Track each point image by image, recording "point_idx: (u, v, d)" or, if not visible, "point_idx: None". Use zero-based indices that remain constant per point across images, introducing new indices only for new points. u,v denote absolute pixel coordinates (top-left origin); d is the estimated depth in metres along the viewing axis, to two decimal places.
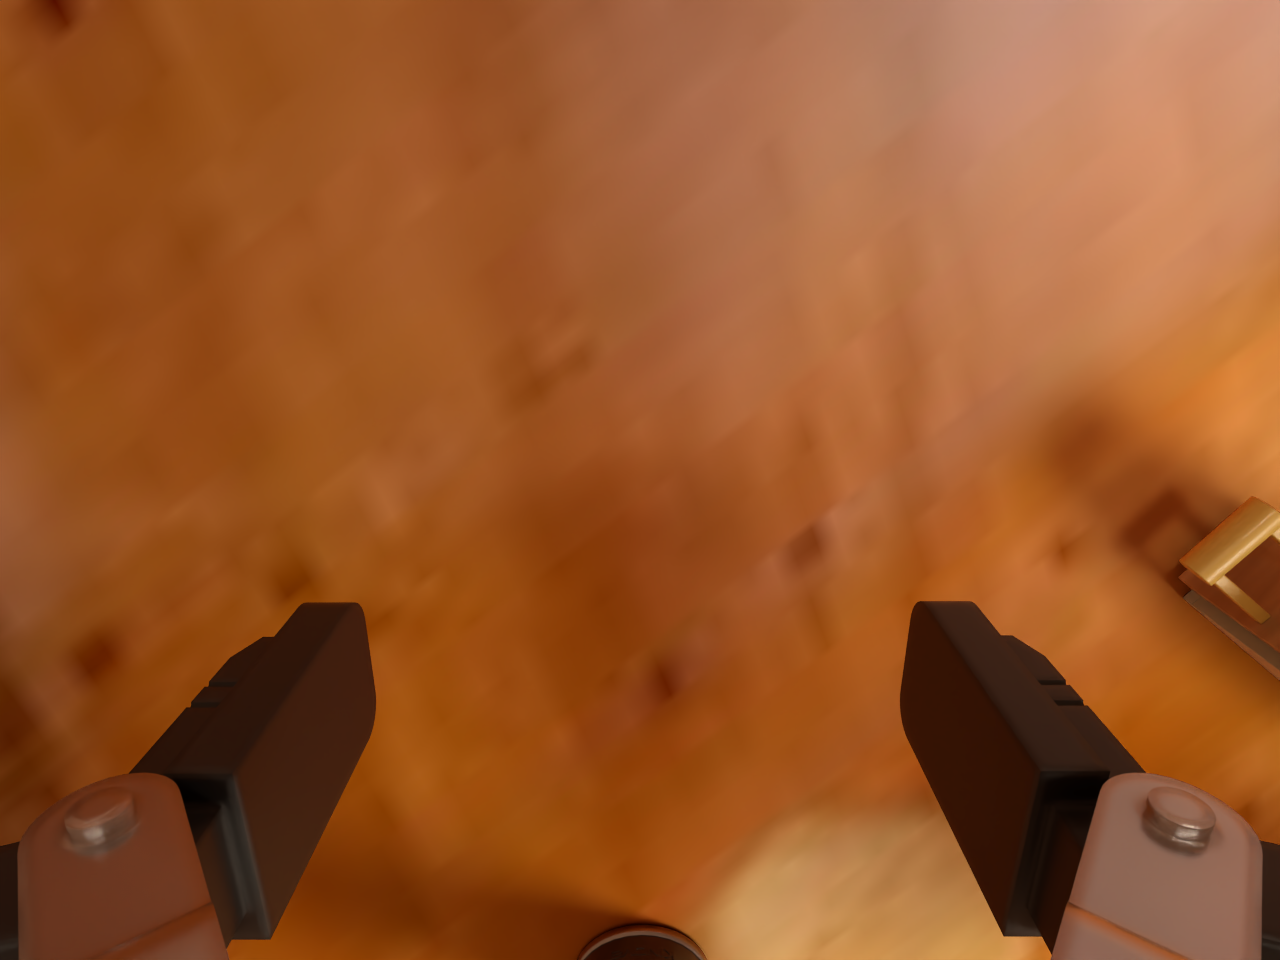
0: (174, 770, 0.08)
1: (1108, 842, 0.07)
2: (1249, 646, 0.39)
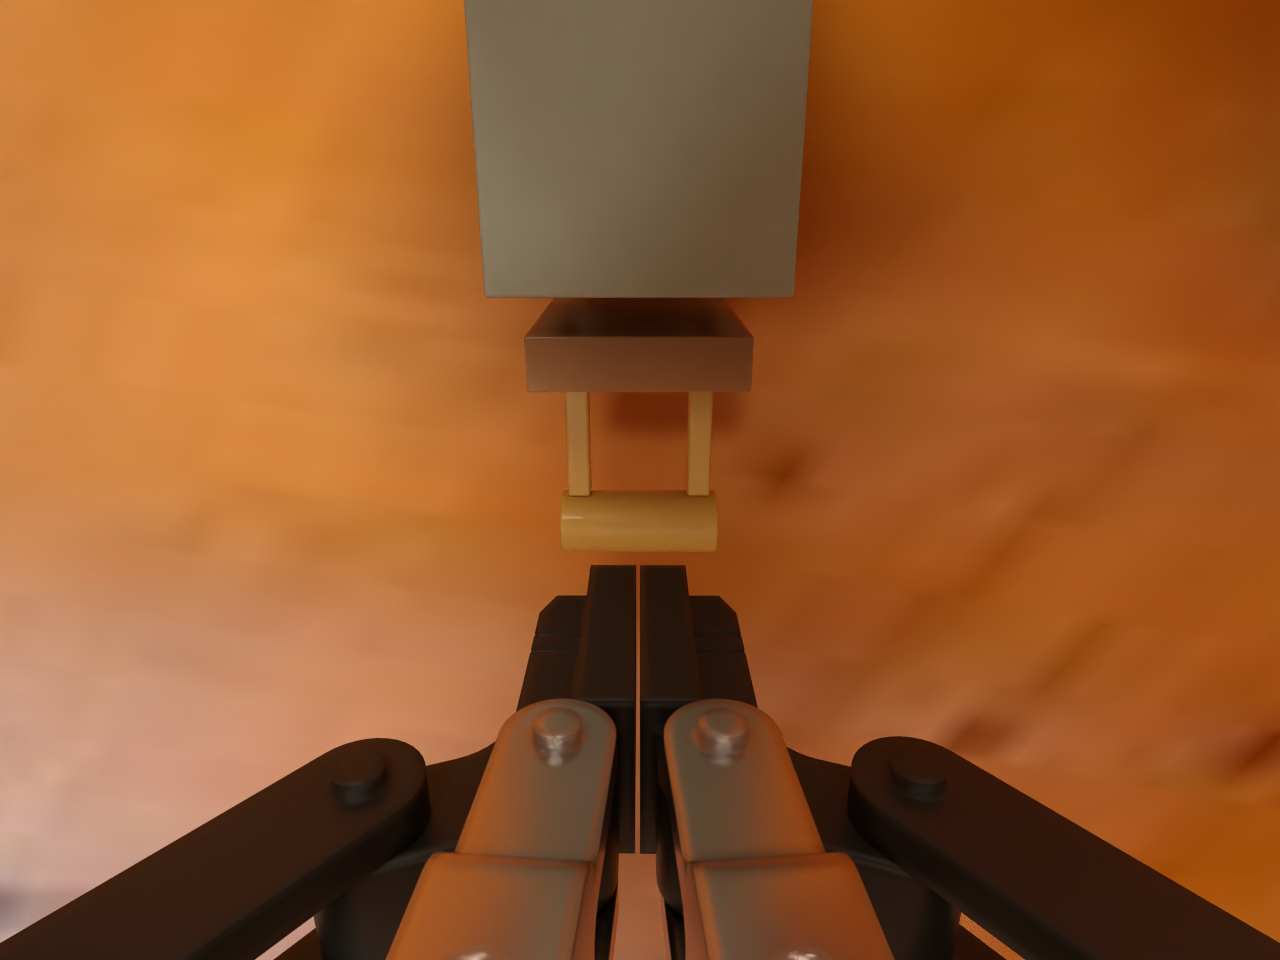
0: (580, 698, 0.09)
1: (687, 782, 0.07)
2: None
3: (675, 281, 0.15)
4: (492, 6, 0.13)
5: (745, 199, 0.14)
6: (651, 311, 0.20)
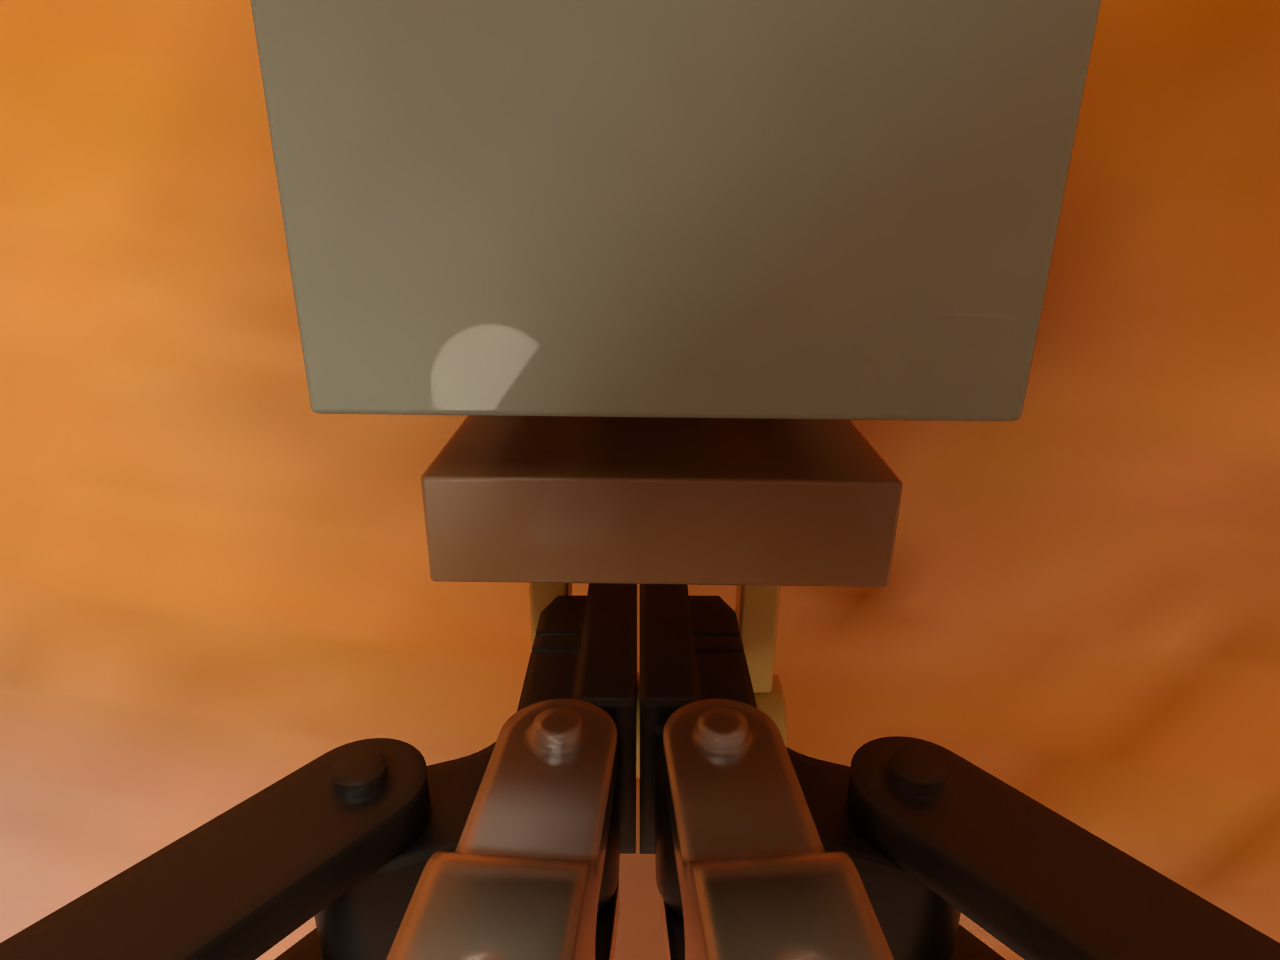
0: (581, 698, 0.09)
1: (687, 782, 0.07)
2: None
3: (750, 384, 0.06)
4: None
5: (931, 194, 0.06)
6: None
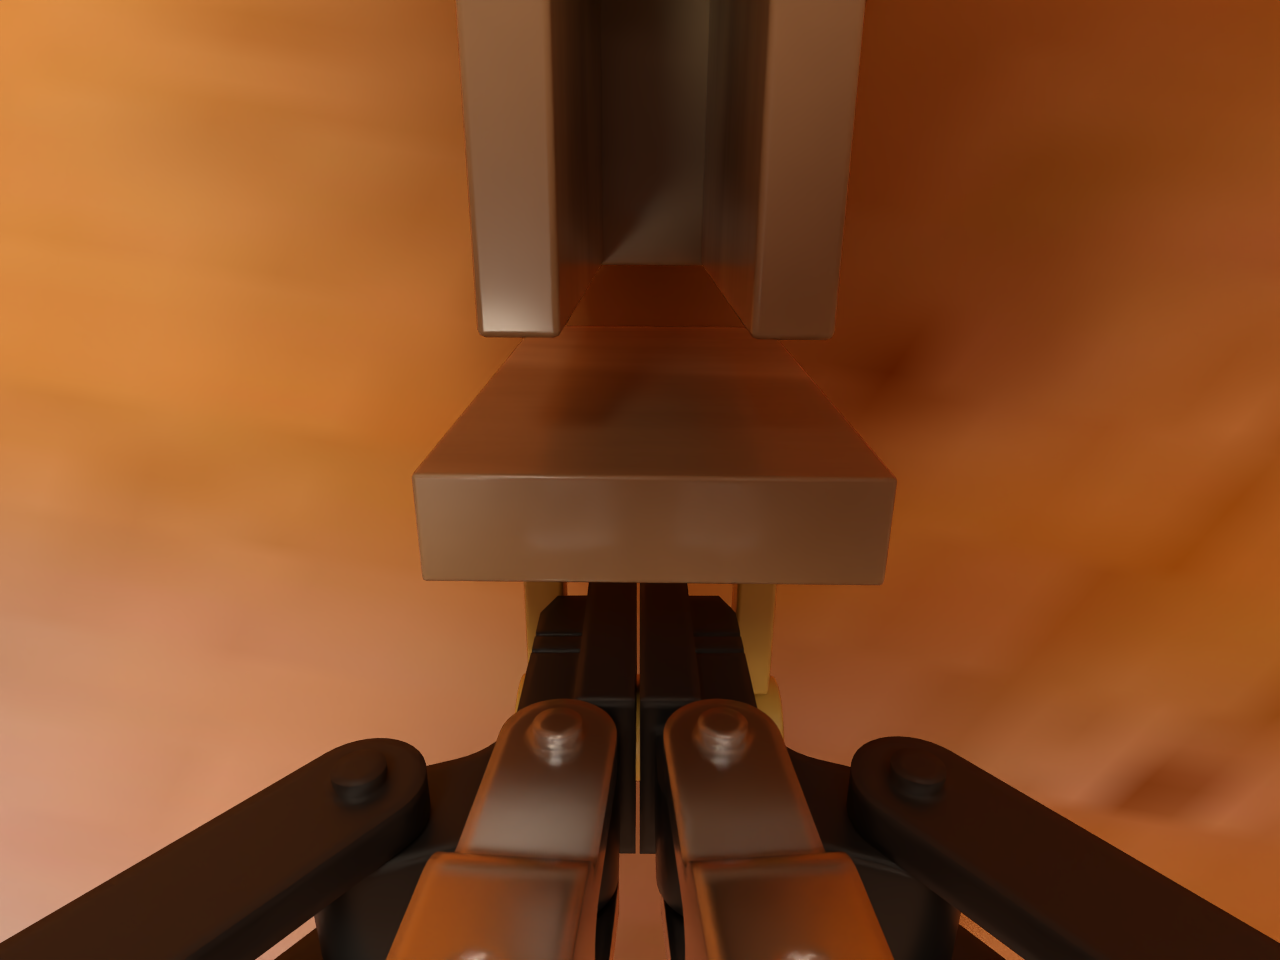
0: (581, 698, 0.09)
1: (687, 782, 0.07)
2: None
3: None
4: None
5: None
6: (675, 389, 0.11)
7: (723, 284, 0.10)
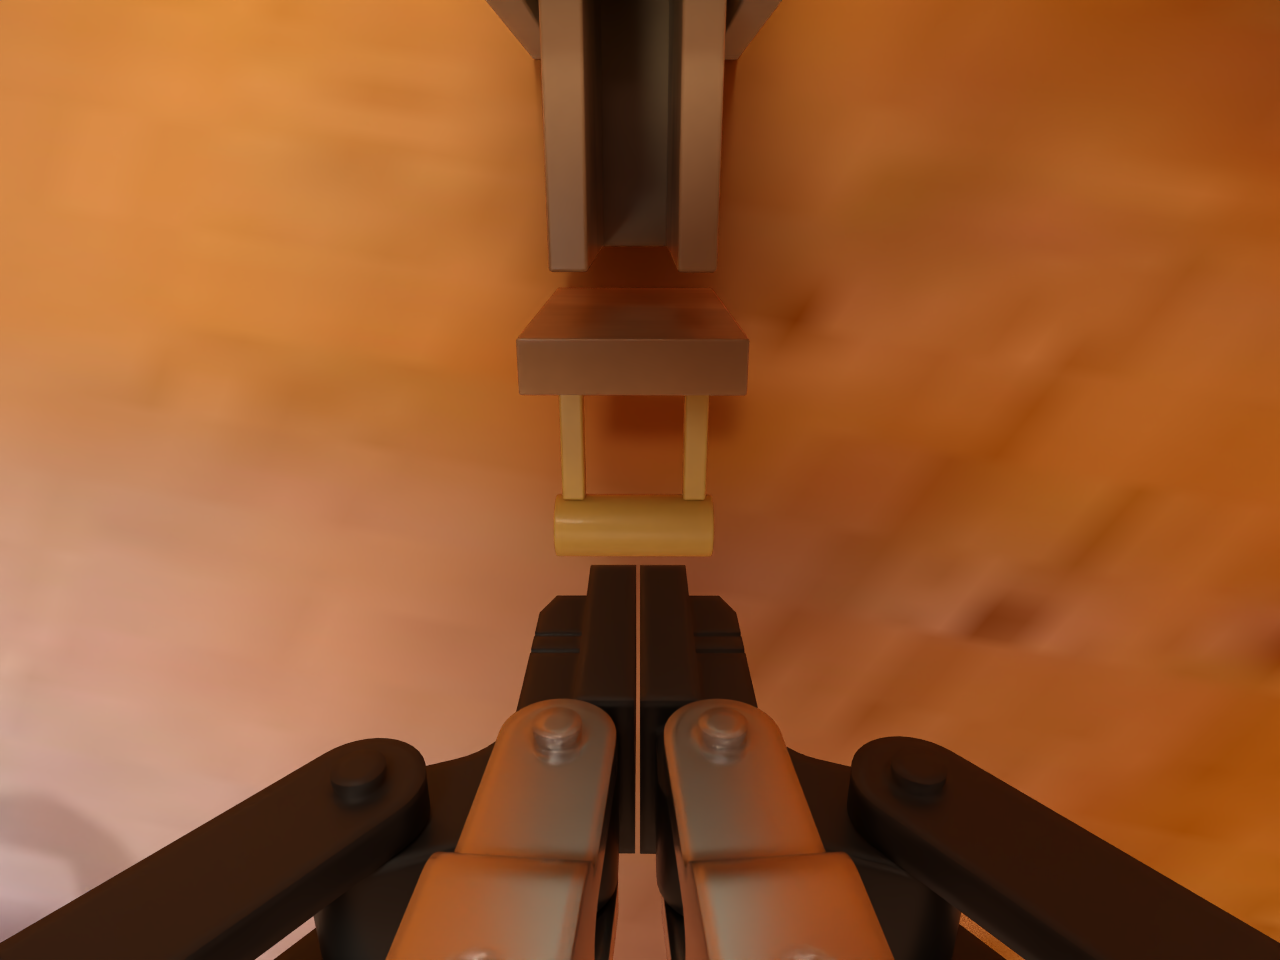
0: (580, 698, 0.09)
1: (687, 782, 0.07)
2: (760, 25, 0.18)
3: None
4: None
5: None
6: (646, 313, 0.19)
7: (671, 251, 0.18)
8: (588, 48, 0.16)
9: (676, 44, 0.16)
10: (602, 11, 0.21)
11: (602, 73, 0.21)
